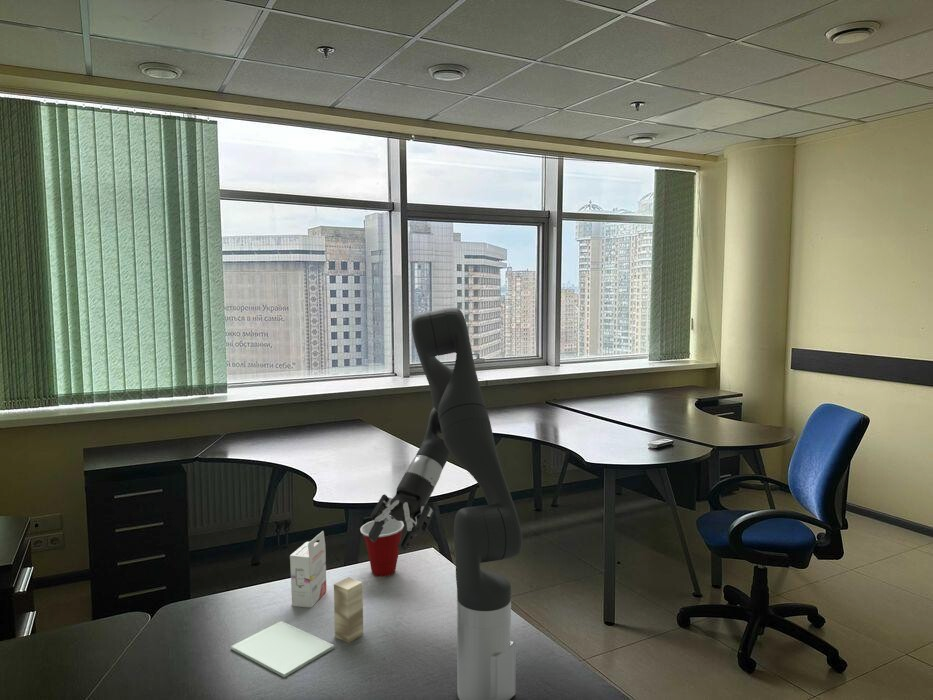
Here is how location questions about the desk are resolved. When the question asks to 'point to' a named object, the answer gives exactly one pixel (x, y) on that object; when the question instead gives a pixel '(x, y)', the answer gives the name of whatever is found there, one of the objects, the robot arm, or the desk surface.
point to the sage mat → (282, 648)
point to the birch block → (348, 609)
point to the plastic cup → (383, 547)
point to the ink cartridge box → (308, 572)
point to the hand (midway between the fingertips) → (386, 544)
